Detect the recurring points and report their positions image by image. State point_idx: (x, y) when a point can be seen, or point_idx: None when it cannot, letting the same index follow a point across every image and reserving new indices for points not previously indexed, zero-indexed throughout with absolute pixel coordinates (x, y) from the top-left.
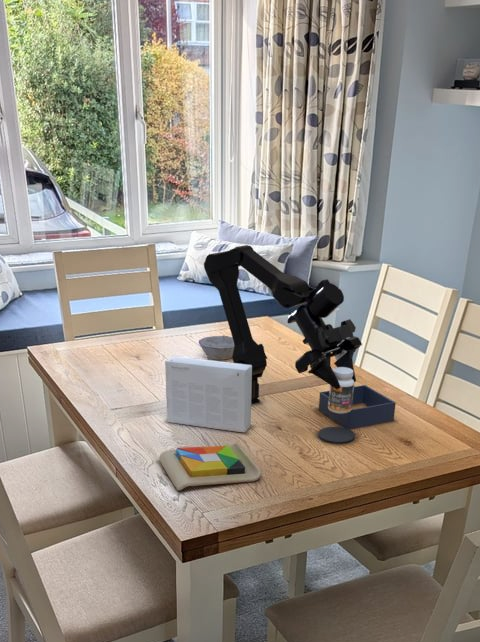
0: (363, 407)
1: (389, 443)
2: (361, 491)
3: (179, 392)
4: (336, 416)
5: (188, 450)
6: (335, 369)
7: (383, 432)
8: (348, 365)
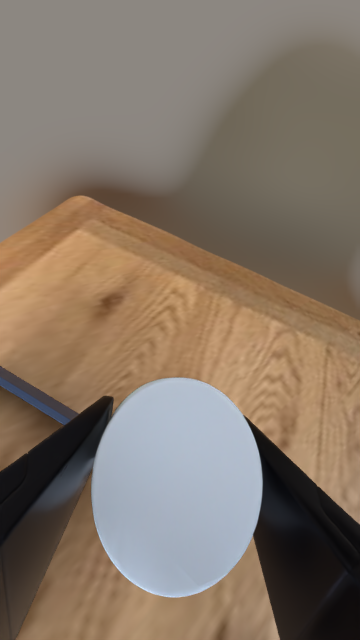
0: (46, 412)
1: (130, 324)
2: (294, 295)
3: None
4: None
5: None
6: (216, 553)
7: (83, 354)
8: (45, 502)
